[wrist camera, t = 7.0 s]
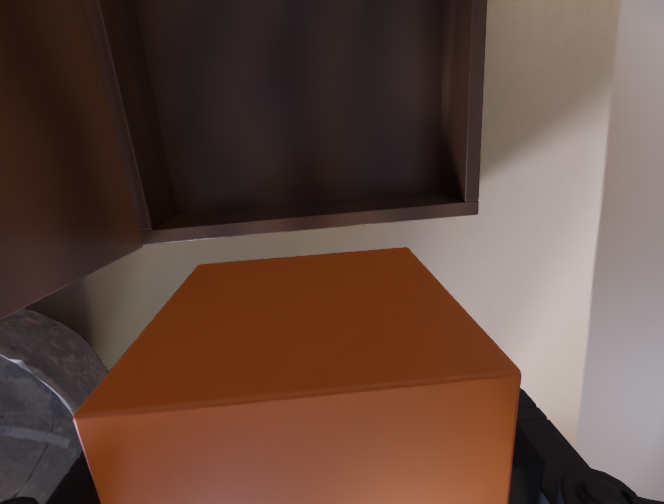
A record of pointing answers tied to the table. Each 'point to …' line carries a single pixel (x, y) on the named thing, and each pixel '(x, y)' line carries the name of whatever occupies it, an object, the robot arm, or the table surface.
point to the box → (292, 111)
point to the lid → (56, 155)
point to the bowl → (41, 401)
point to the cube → (306, 391)
